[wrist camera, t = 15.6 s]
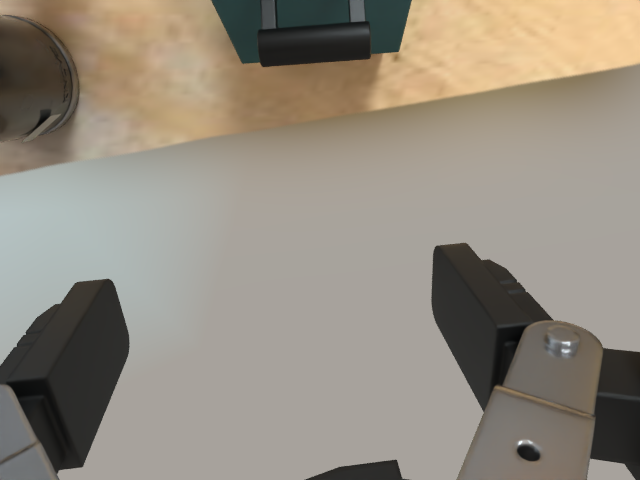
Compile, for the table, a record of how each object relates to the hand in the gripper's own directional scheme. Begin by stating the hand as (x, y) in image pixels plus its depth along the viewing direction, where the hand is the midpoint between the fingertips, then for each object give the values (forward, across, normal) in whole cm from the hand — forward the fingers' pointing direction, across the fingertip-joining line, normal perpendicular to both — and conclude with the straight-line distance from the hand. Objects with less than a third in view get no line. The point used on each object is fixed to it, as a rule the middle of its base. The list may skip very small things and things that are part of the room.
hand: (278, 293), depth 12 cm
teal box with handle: (+18, -3, -7) cm, 19 cm away
